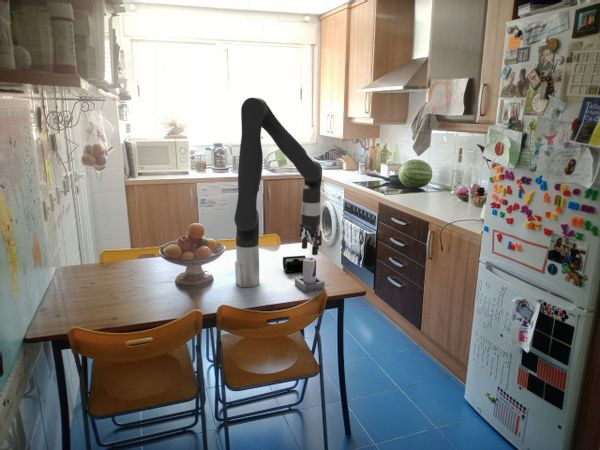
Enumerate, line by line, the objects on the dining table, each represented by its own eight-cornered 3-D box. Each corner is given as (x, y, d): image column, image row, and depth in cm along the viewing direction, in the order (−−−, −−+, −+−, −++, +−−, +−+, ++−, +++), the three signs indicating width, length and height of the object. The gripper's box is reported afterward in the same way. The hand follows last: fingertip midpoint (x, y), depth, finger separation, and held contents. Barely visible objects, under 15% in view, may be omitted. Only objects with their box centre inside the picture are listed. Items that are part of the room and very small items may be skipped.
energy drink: (318, 286, 184) (318, 258, 181) (311, 290, 180) (312, 262, 177) (307, 283, 187) (307, 256, 184) (300, 287, 182) (300, 260, 179)
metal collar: (305, 293, 177) (305, 286, 177) (294, 285, 185) (294, 278, 184) (324, 288, 182) (324, 282, 181) (313, 281, 189) (313, 274, 188)
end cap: (303, 267, 205) (304, 253, 203) (307, 273, 199) (307, 258, 197) (282, 269, 203) (282, 255, 201) (285, 274, 197) (285, 260, 195)
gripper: (294, 209, 179) (293, 247, 183) (311, 217, 167) (310, 258, 171) (310, 208, 183) (309, 245, 187) (328, 216, 170) (326, 255, 175)
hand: (309, 251), depth 179 cm, fingers open, 8 cm apart
